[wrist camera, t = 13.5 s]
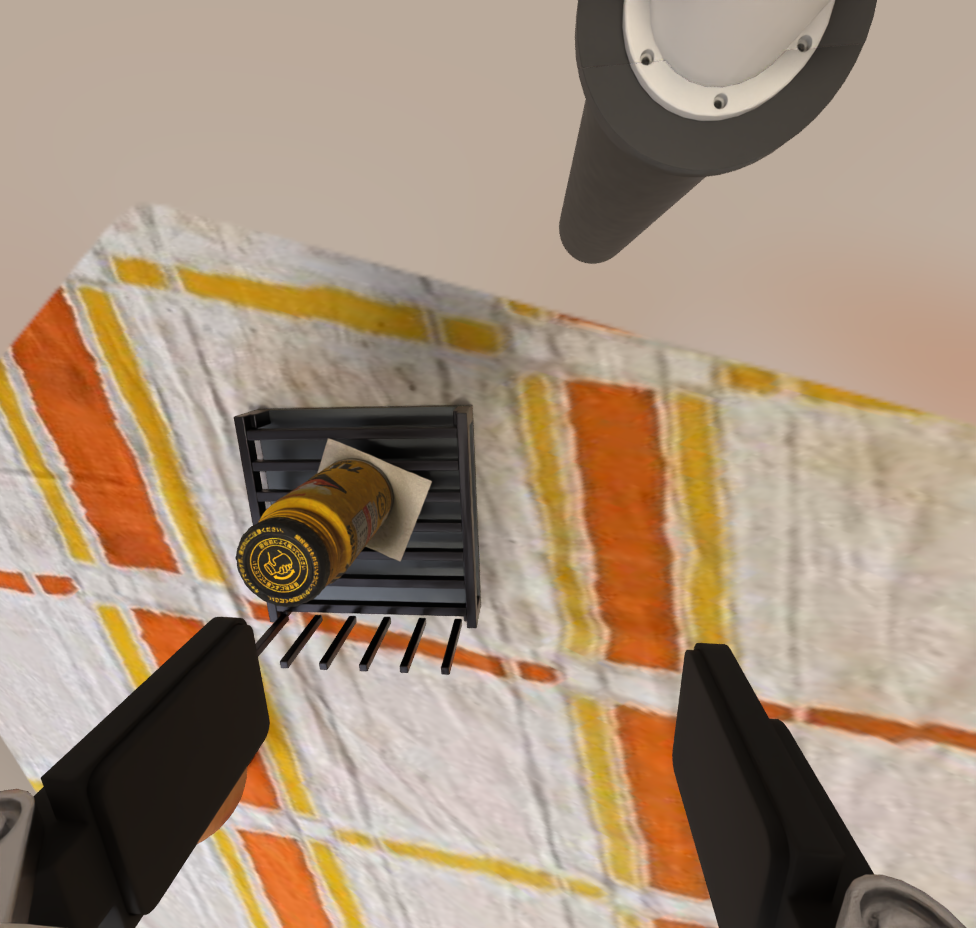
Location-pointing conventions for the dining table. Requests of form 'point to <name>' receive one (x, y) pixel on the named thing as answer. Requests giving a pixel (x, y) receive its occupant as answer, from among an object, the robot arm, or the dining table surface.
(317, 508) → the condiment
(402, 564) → the dish rack
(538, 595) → the dining table surface
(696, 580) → the dining table surface
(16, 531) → the dining table surface
